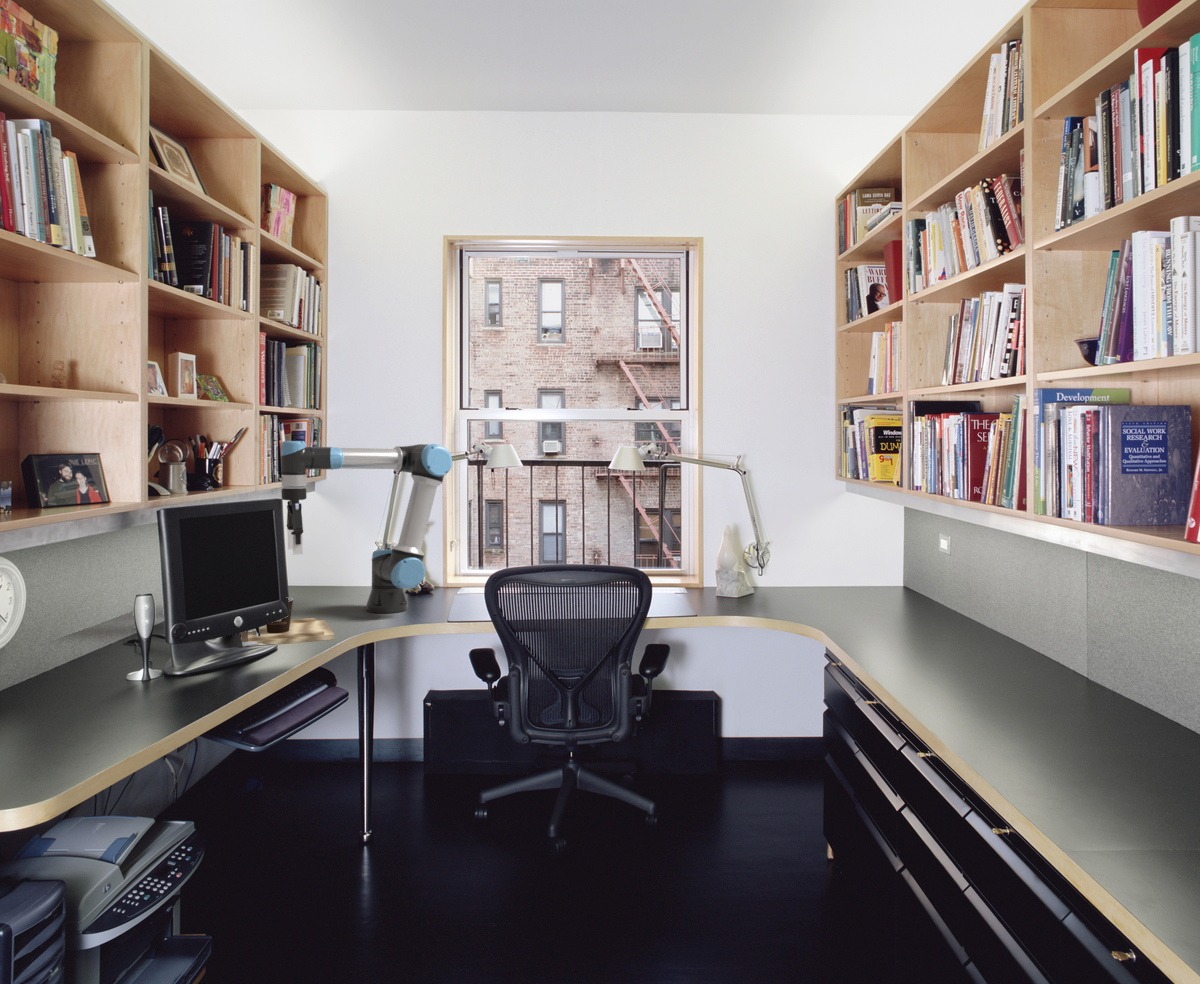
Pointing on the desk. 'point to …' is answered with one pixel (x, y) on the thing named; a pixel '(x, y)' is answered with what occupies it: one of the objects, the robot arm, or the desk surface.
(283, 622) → the coffee mug
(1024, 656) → the desk surface
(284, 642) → the channel board
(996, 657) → the desk surface
